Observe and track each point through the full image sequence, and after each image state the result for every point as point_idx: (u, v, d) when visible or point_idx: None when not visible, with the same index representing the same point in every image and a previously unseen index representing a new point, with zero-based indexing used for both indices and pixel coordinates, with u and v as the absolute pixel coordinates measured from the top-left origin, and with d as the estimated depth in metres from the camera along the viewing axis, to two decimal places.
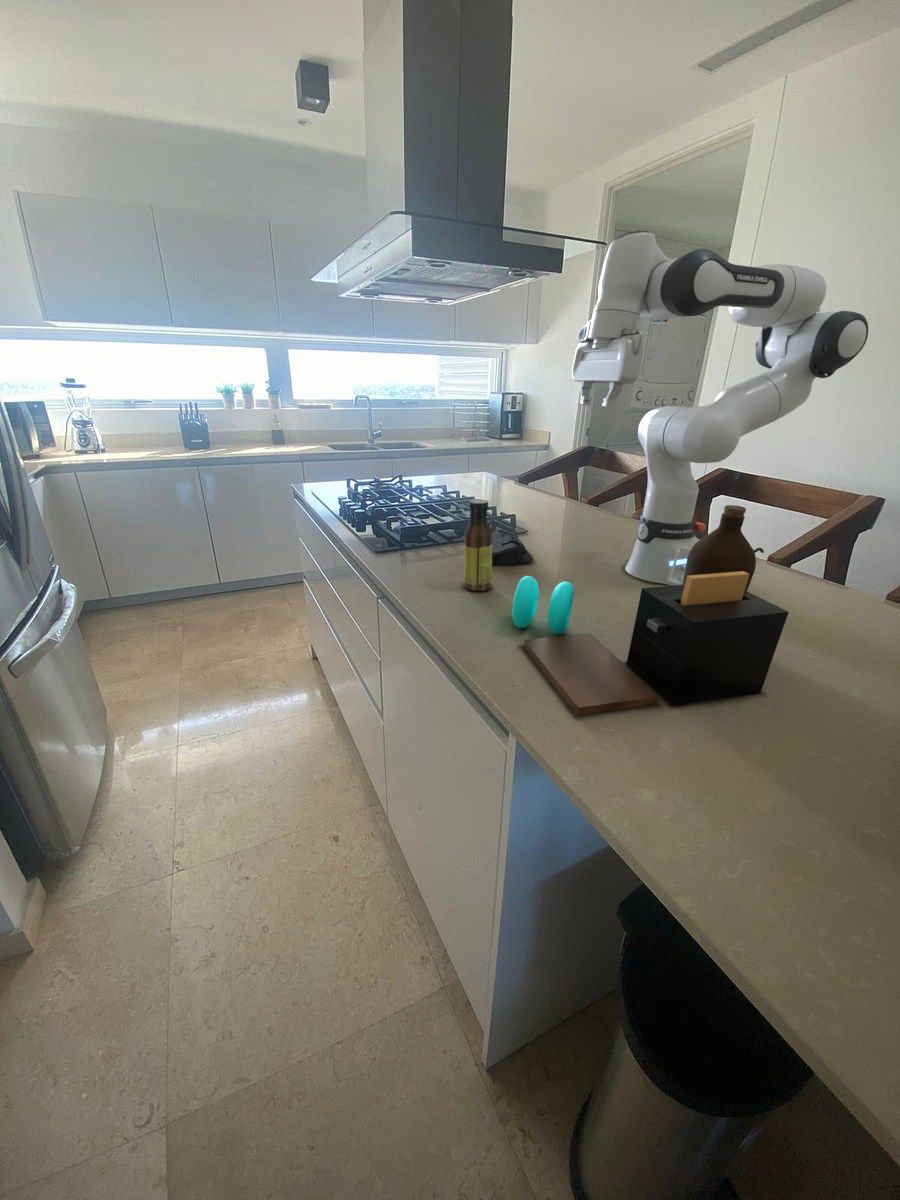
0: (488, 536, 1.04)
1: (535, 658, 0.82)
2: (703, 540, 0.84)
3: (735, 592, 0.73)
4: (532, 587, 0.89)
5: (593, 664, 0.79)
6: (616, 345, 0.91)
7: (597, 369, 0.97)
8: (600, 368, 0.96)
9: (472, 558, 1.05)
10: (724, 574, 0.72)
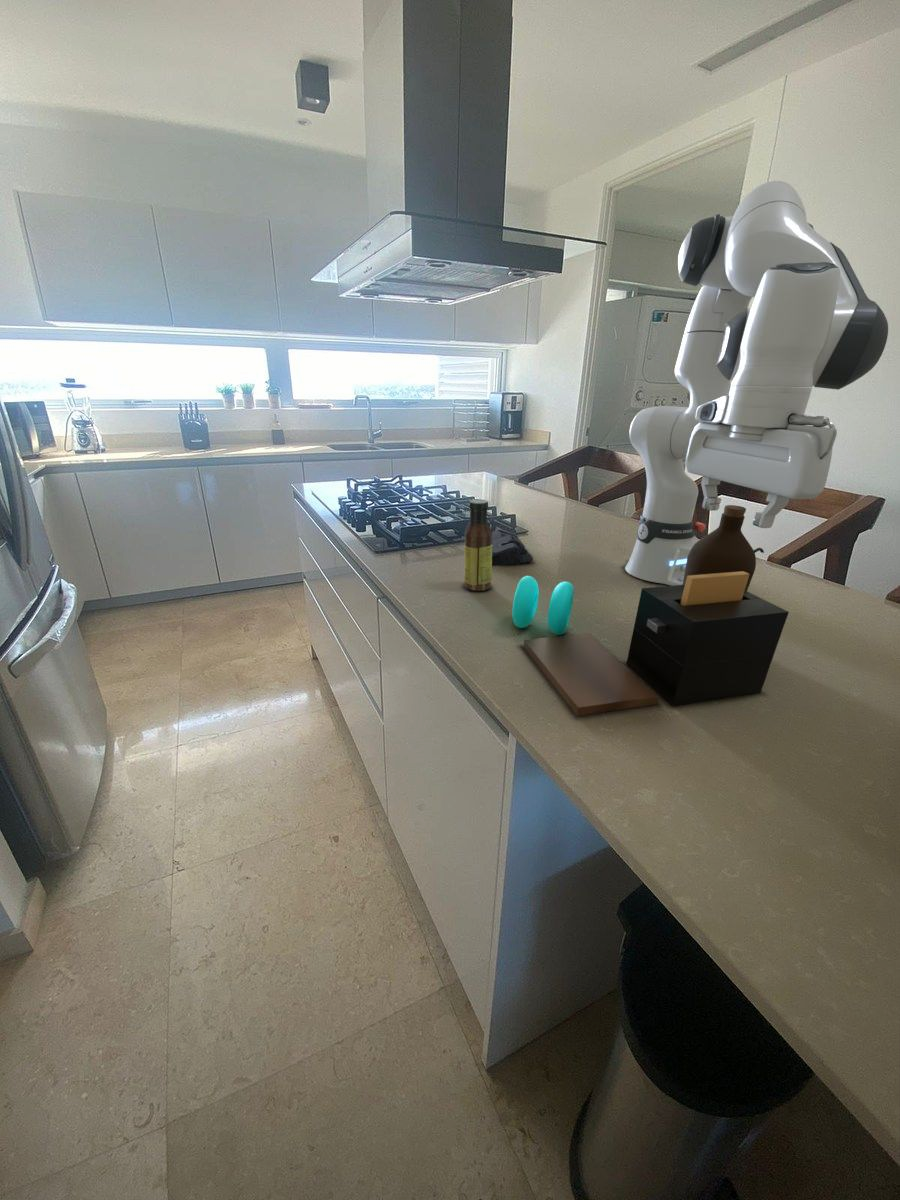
0: (488, 536, 1.04)
1: (535, 658, 0.82)
2: (703, 540, 0.84)
3: (735, 592, 0.73)
4: (532, 587, 0.89)
5: (593, 664, 0.79)
6: (782, 441, 0.58)
7: (740, 468, 0.64)
8: (746, 468, 0.63)
9: (472, 558, 1.05)
10: (724, 574, 0.72)
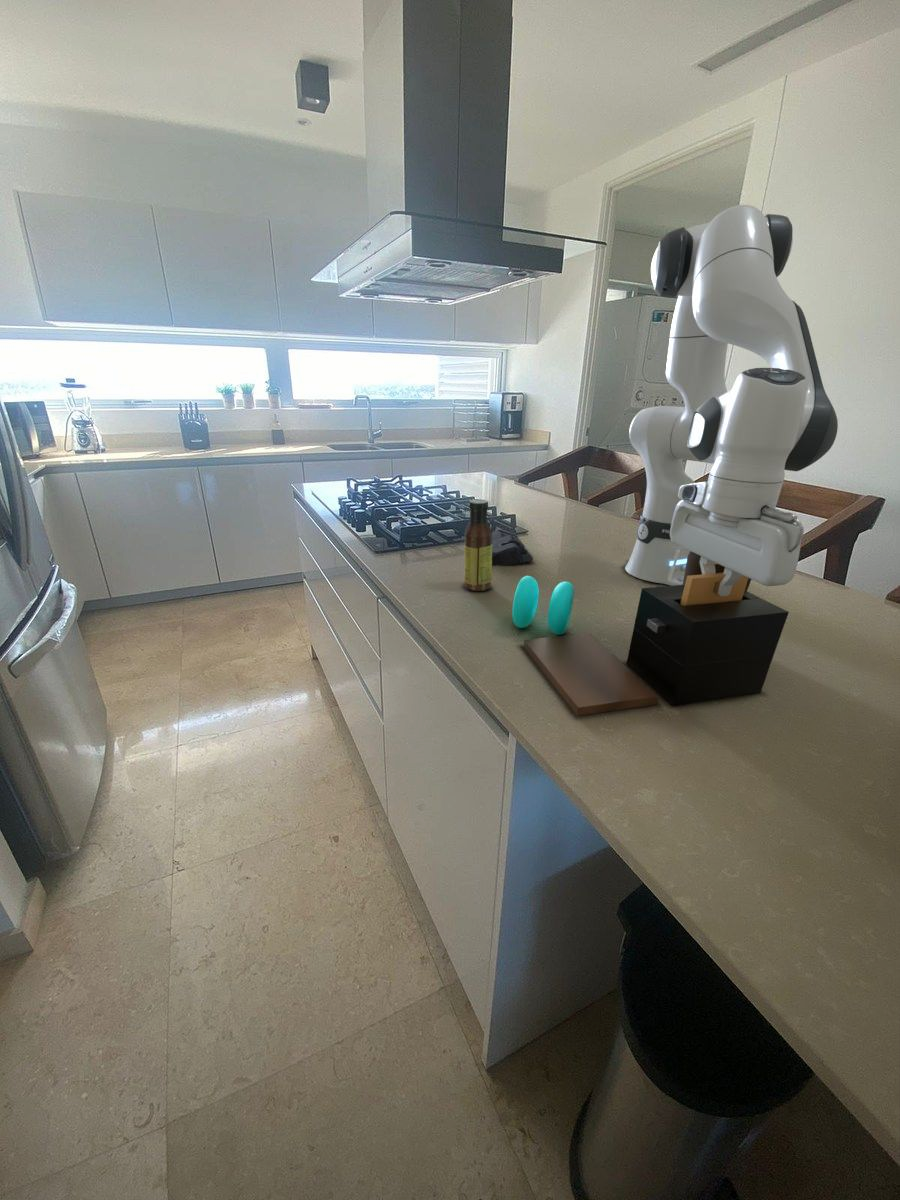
0: (488, 536, 1.04)
1: (535, 658, 0.82)
2: None
3: (735, 592, 0.73)
4: (532, 587, 0.89)
5: (593, 664, 0.79)
6: (755, 531, 0.63)
7: (719, 549, 0.69)
8: (724, 550, 0.68)
9: (472, 558, 1.05)
10: (724, 574, 0.72)
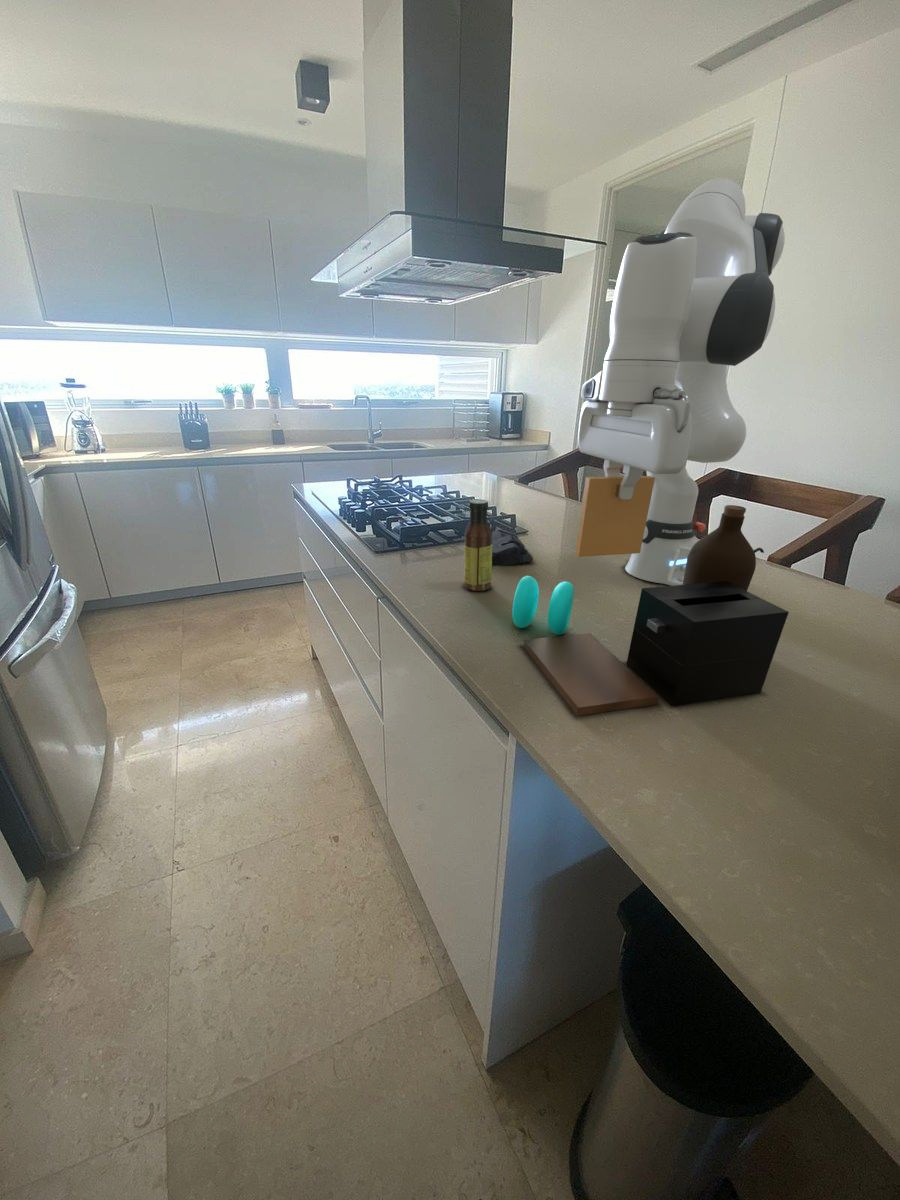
0: (488, 536, 1.04)
1: (535, 658, 0.82)
2: (703, 540, 0.84)
3: (640, 498, 0.68)
4: (532, 587, 0.89)
5: (593, 664, 0.79)
6: (646, 415, 0.57)
7: (617, 445, 0.63)
8: (621, 445, 0.63)
9: (472, 558, 1.05)
10: None
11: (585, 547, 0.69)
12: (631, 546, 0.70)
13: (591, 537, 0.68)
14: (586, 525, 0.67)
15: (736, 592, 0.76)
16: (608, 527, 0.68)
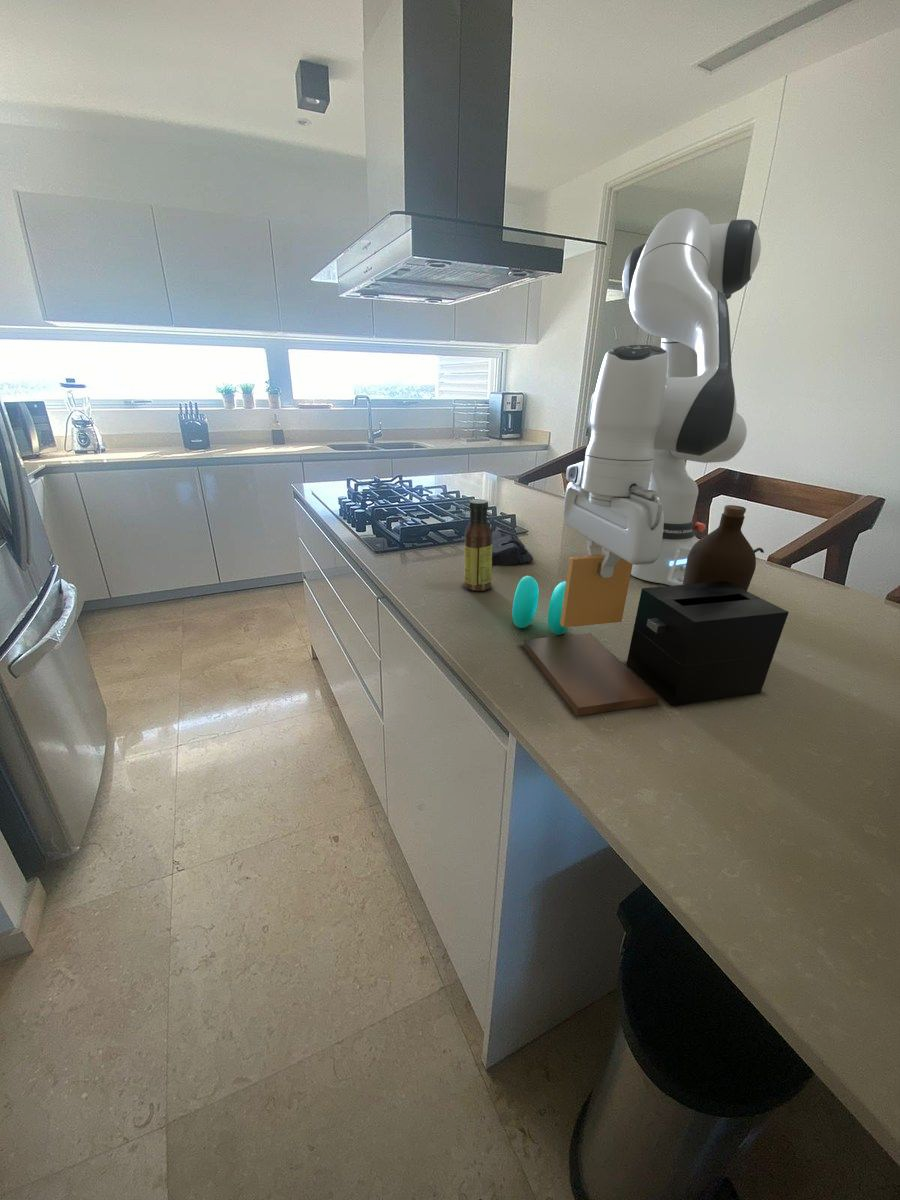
0: (488, 536, 1.04)
1: (535, 658, 0.82)
2: (703, 540, 0.84)
3: (621, 573, 0.72)
4: (532, 587, 0.89)
5: (593, 664, 0.79)
6: (623, 510, 0.62)
7: (598, 529, 0.68)
8: (601, 530, 0.67)
9: (472, 558, 1.05)
10: None
11: (569, 619, 0.73)
12: (612, 616, 0.75)
13: (575, 610, 0.73)
14: (570, 599, 0.72)
15: (736, 592, 0.76)
16: (591, 600, 0.73)
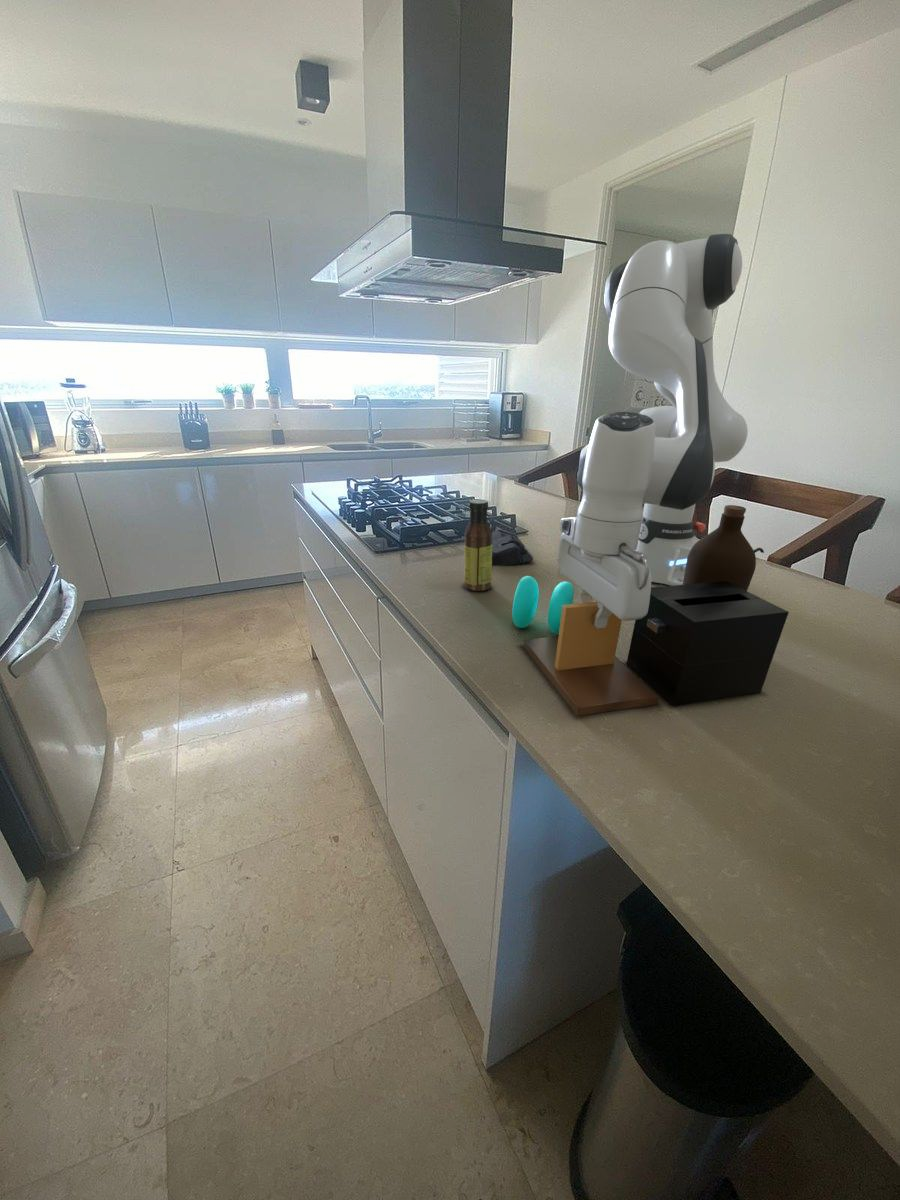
0: (488, 536, 1.04)
1: (535, 658, 0.82)
2: (703, 540, 0.84)
3: (612, 620, 0.76)
4: (532, 587, 0.89)
5: None
6: (613, 568, 0.65)
7: (590, 582, 0.71)
8: (593, 583, 0.71)
9: (472, 558, 1.05)
10: None
11: (563, 662, 0.77)
12: (605, 659, 0.78)
13: (568, 654, 0.76)
14: (564, 644, 0.75)
15: (736, 592, 0.76)
16: (583, 645, 0.76)
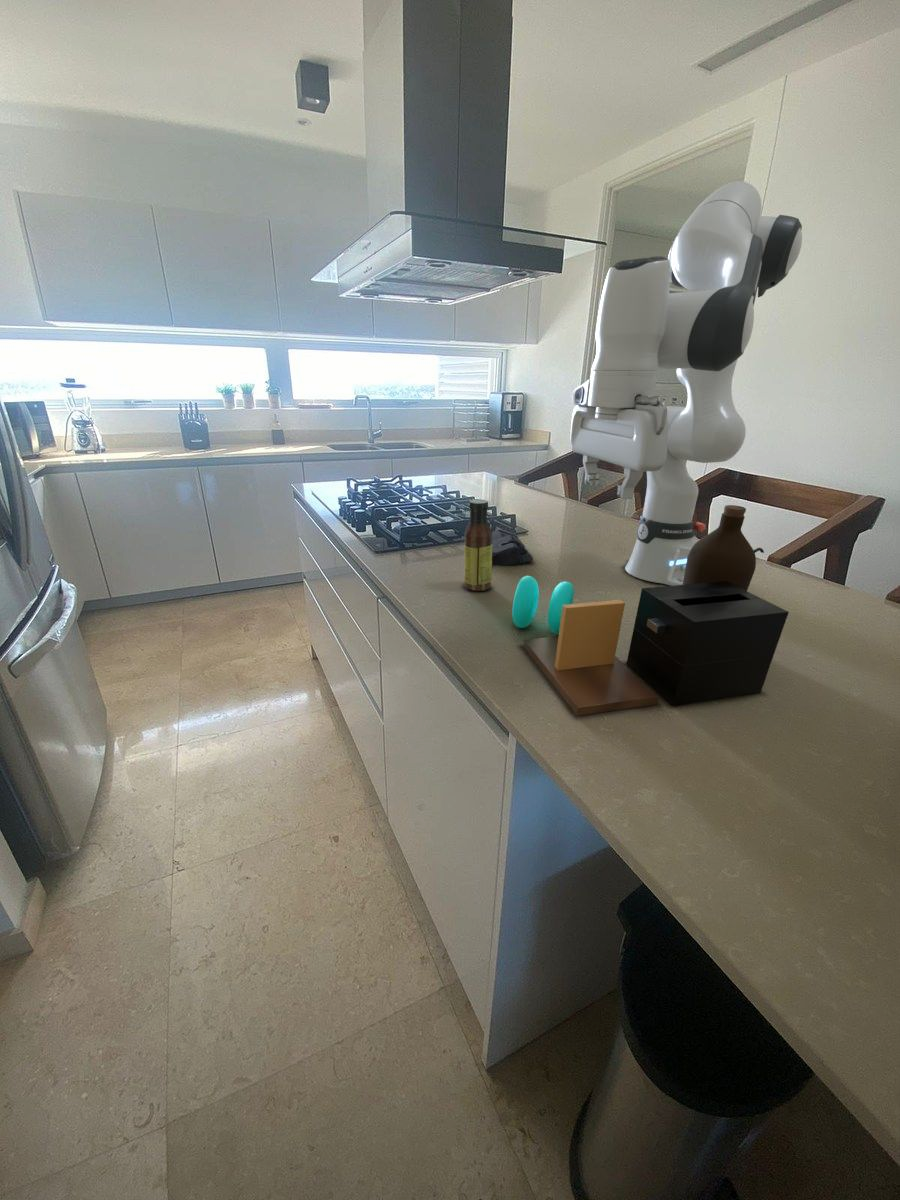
0: (488, 536, 1.04)
1: (535, 658, 0.82)
2: (703, 540, 0.84)
3: (612, 620, 0.76)
4: (532, 587, 0.89)
5: None
6: (629, 419, 0.65)
7: (605, 446, 0.71)
8: (608, 445, 0.70)
9: (472, 558, 1.05)
10: (600, 603, 0.74)
11: (563, 662, 0.77)
12: (605, 659, 0.78)
13: (568, 654, 0.76)
14: (564, 644, 0.75)
15: (736, 592, 0.76)
16: (583, 645, 0.76)
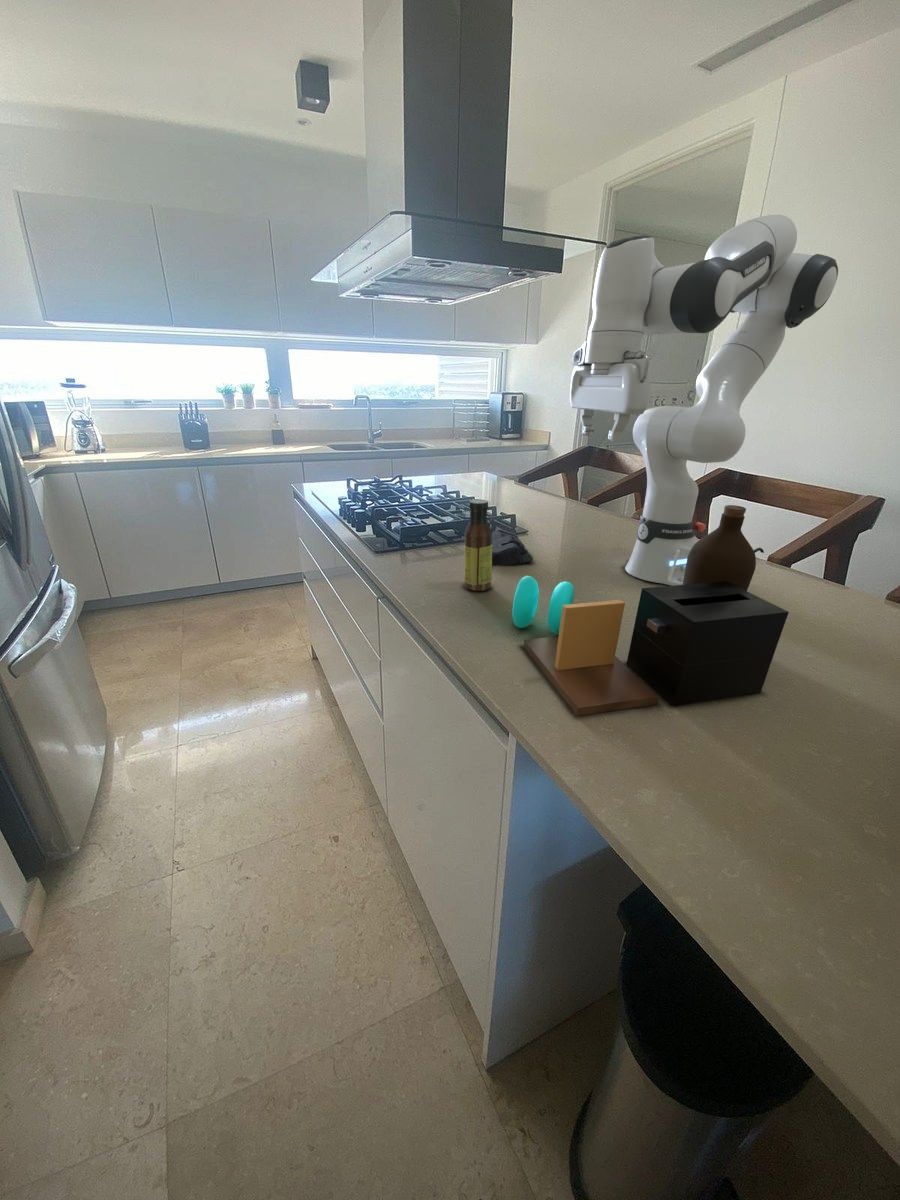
0: (488, 536, 1.04)
1: (535, 658, 0.82)
2: (703, 540, 0.84)
3: (612, 620, 0.76)
4: (532, 587, 0.89)
5: None
6: (618, 371, 0.78)
7: (598, 397, 0.84)
8: (601, 397, 0.83)
9: (472, 558, 1.05)
10: (600, 603, 0.74)
11: (563, 662, 0.77)
12: (605, 659, 0.78)
13: (568, 654, 0.76)
14: (564, 644, 0.75)
15: (736, 592, 0.76)
16: (583, 645, 0.76)
